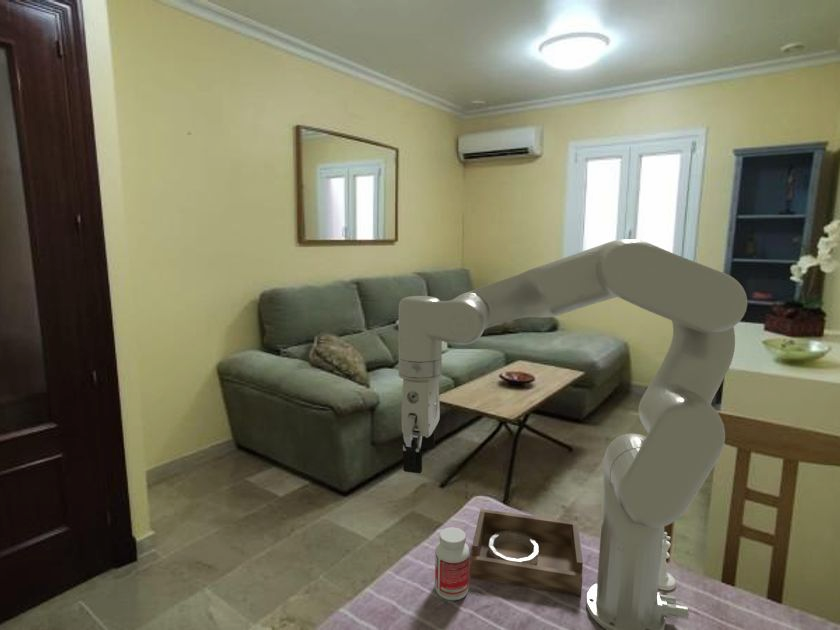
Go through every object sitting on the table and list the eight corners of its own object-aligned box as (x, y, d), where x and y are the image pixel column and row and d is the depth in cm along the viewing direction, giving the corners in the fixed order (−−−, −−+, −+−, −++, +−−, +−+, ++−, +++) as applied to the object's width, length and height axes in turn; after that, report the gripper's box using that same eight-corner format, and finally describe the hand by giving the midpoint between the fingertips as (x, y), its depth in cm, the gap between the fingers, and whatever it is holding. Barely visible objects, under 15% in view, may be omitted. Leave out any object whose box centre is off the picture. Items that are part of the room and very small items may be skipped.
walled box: (575, 548, 101) (577, 522, 100) (581, 596, 88) (583, 566, 87) (479, 534, 106) (480, 508, 105) (470, 577, 92) (471, 548, 91)
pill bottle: (475, 593, 88) (477, 537, 86) (448, 607, 85) (449, 549, 83) (454, 573, 93) (455, 520, 91) (428, 585, 90) (429, 531, 88)
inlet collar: (537, 543, 101) (538, 534, 101) (537, 574, 92) (538, 564, 91) (491, 536, 103) (491, 528, 103) (486, 565, 94) (487, 556, 94)
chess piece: (674, 594, 88) (679, 544, 87) (645, 584, 91) (649, 535, 89) (676, 578, 93) (681, 530, 91) (647, 569, 95) (652, 522, 93)
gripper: (430, 383, 76) (429, 485, 78) (450, 356, 92) (448, 442, 95) (384, 379, 77) (384, 479, 80) (412, 354, 94) (411, 438, 97)
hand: (419, 459), depth 87 cm, fingers open, 9 cm apart
